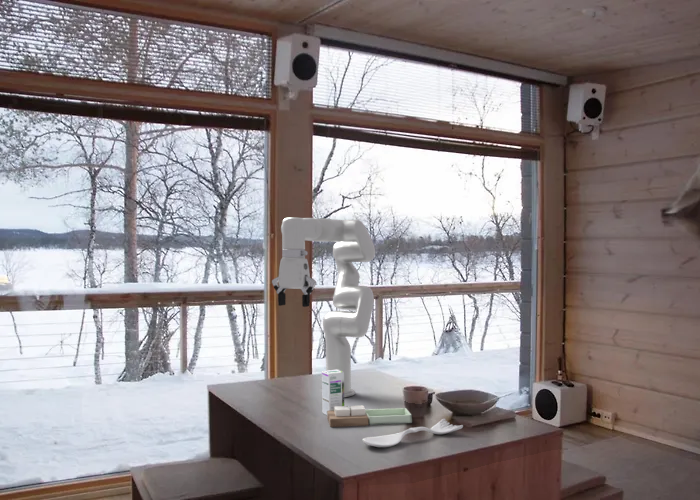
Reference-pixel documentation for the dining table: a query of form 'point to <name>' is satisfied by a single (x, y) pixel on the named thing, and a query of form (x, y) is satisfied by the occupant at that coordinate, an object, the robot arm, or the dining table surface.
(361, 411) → the tile
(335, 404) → the syrup box
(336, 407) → the tile
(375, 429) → the dining table surface
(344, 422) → the board
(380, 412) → the tray
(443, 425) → the spoon
